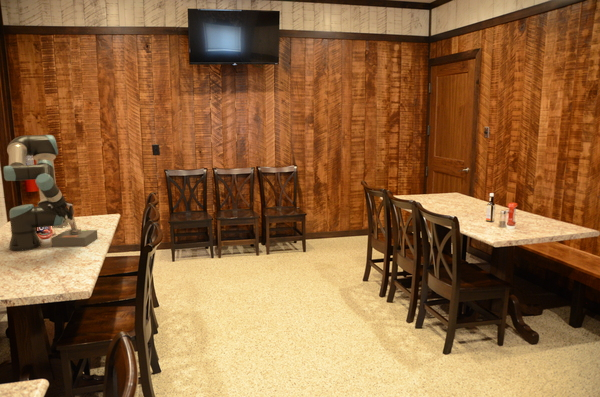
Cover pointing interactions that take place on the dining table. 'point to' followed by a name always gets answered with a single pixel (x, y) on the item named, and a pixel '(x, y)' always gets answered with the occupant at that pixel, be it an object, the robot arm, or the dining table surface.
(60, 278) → the dining table surface
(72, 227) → the lever
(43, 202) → the robot arm
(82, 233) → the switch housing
